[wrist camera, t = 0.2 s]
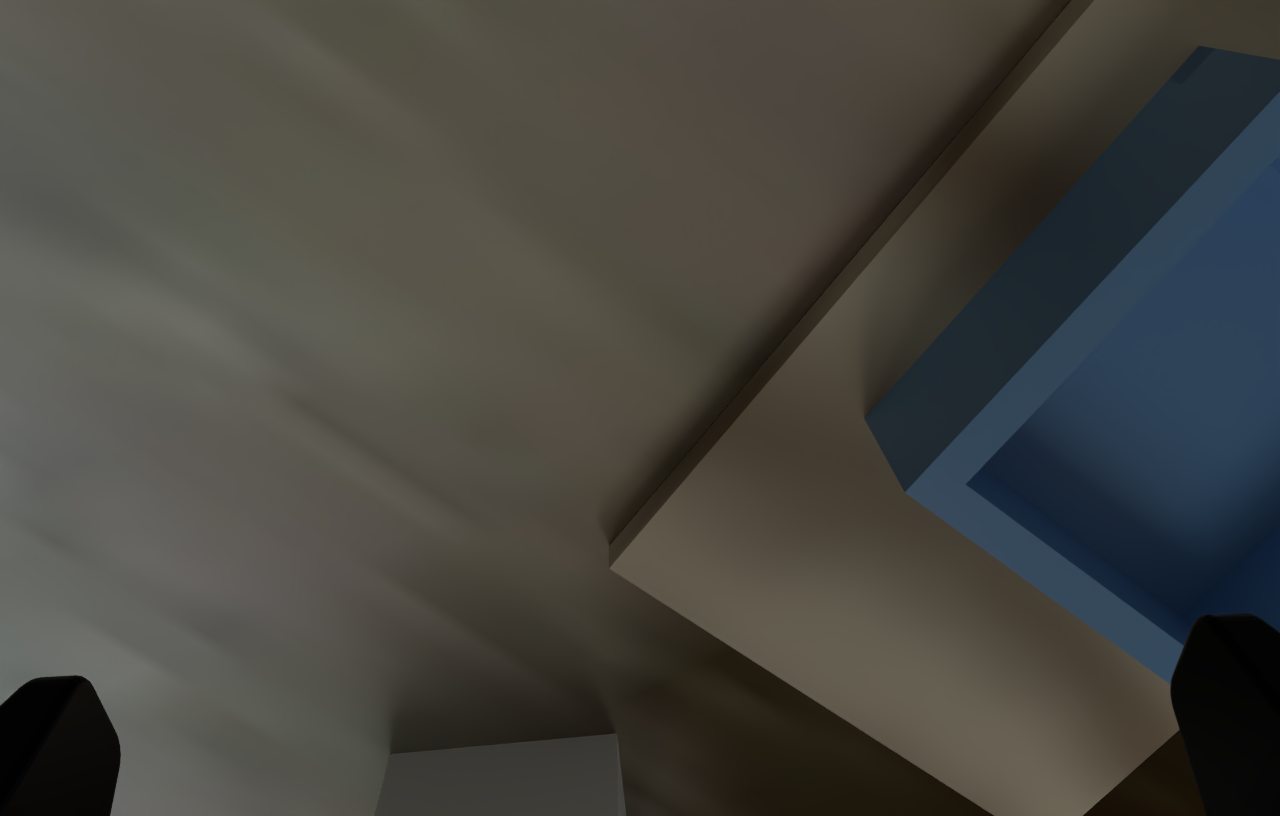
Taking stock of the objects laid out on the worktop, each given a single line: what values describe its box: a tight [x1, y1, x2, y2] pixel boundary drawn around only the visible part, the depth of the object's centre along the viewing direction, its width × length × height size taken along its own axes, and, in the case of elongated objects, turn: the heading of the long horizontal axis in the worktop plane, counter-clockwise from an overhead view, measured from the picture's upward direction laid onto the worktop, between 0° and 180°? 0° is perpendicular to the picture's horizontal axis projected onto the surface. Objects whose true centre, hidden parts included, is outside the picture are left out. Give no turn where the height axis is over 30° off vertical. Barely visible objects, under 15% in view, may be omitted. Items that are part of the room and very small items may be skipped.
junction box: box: [864, 46, 1280, 685], centre depth 22 cm, size 10×10×4 cm
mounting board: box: [609, 0, 1280, 816], centre depth 24 cm, size 22×14×1 cm, turn 143°
